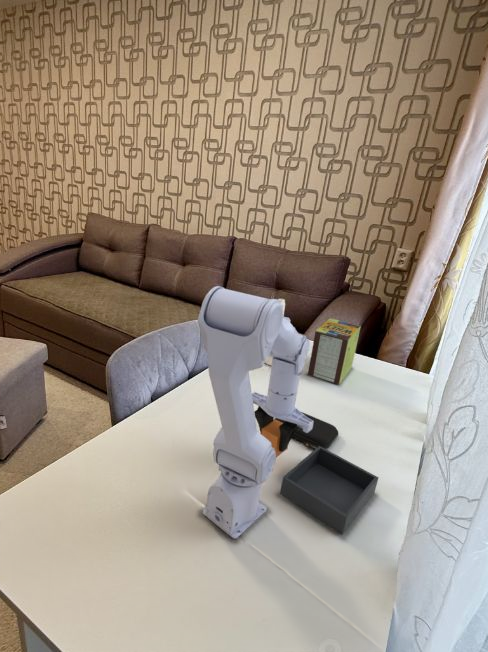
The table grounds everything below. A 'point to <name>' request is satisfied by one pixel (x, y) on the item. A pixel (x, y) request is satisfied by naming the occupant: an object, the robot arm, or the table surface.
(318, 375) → the protein box
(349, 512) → the bin
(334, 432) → the carrying case
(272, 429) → the block
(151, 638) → the table surface
